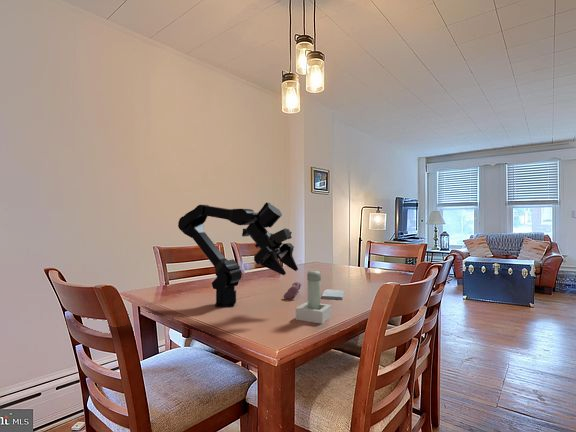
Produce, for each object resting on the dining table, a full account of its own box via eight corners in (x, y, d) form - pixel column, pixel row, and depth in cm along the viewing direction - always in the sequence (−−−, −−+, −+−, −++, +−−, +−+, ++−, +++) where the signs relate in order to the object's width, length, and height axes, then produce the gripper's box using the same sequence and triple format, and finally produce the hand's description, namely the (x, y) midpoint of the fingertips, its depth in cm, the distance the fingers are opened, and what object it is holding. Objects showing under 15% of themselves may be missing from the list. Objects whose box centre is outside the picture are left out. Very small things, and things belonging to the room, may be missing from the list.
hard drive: (342, 297, 123) (344, 290, 135) (321, 295, 125) (324, 288, 137) (342, 301, 123) (344, 293, 135) (321, 300, 125) (324, 292, 137)
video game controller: (292, 304, 123) (300, 288, 122) (282, 298, 123) (290, 282, 123) (296, 297, 132) (304, 282, 132) (286, 292, 133) (294, 277, 133)
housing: (295, 319, 99) (295, 308, 99) (306, 312, 106) (306, 301, 106) (322, 323, 95) (322, 311, 95) (331, 315, 103) (331, 304, 103)
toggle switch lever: (311, 316, 98) (311, 273, 98) (304, 312, 101) (304, 271, 102) (323, 314, 100) (323, 272, 100) (316, 310, 103) (316, 270, 103)
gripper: (262, 220, 98) (295, 258, 93) (288, 220, 115) (317, 252, 110) (240, 245, 102) (271, 283, 97) (269, 241, 118) (296, 274, 114)
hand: (291, 272), depth 104 cm, fingers open, 9 cm apart
